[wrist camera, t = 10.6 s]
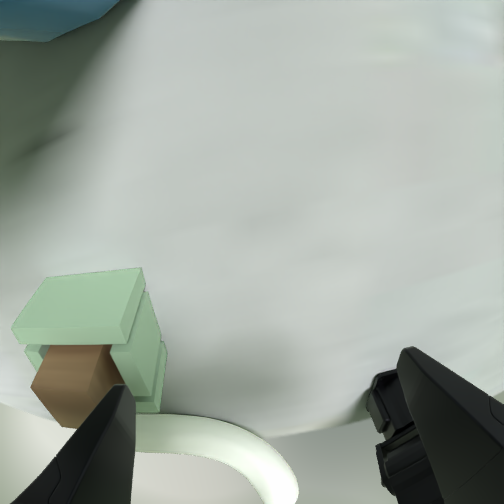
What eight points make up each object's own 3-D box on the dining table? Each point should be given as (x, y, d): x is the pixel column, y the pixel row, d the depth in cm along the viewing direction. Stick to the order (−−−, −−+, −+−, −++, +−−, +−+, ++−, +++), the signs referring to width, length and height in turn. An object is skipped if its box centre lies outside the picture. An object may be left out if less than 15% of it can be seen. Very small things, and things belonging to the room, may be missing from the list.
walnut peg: (137, 335, 23) (115, 432, 15) (93, 336, 23) (61, 426, 15) (122, 293, 21) (86, 392, 13) (76, 297, 21) (30, 387, 13)
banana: (108, 384, 26) (78, 525, 13) (294, 414, 30) (322, 539, 17) (108, 410, 28) (86, 534, 15) (277, 436, 32) (297, 549, 19)
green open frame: (141, 267, 20) (119, 325, 15) (167, 352, 24) (159, 412, 19) (46, 277, 20) (10, 328, 15) (82, 355, 24) (63, 408, 18)
